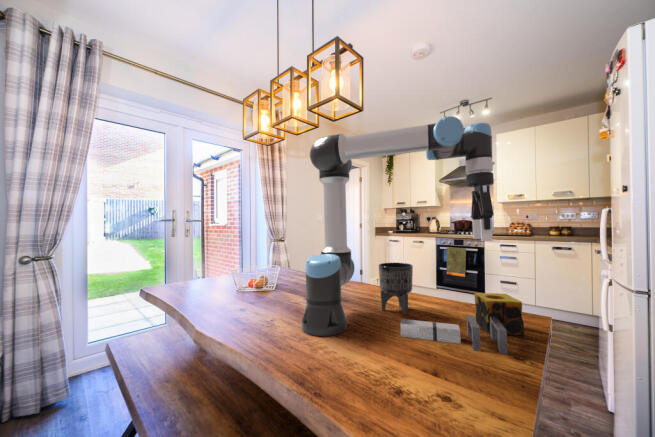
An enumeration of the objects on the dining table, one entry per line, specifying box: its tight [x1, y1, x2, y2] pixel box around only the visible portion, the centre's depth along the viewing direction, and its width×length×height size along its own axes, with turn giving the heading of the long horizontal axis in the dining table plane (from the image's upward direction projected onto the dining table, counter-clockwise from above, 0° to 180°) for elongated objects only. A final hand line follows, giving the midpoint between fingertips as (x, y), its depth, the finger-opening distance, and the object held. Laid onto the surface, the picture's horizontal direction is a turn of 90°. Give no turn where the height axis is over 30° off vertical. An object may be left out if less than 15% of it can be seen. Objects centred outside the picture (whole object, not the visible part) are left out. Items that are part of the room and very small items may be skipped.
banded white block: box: [400, 318, 462, 345], centre depth 77 cm, size 16×4×4 cm, turn 69°
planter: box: [378, 262, 414, 316], centre depth 101 cm, size 13×13×18 cm
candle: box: [474, 292, 525, 337], centre depth 82 cm, size 10×10×10 cm
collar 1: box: [466, 314, 481, 352], centre depth 73 cm, size 2×10×6 cm, turn 160°
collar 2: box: [490, 317, 508, 355], centre depth 71 cm, size 2×10×6 cm, turn 160°
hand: (482, 239), depth 82 cm, fingers open, 13 cm apart
